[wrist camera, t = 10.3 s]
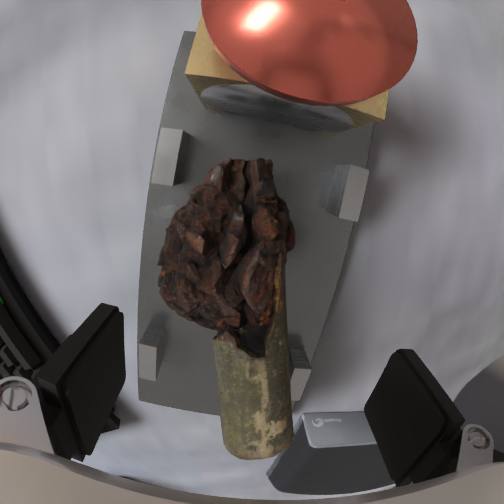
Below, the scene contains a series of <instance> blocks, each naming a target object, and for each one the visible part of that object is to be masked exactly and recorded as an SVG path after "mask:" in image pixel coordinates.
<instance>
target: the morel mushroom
mask: <svg viewBox="0 0 504 504" xmlns="http://www.w3.org/2000/svg"><path fill="white" fill-rule="evenodd" d="M272 172H273V162H272V160H271V159H267V160H265V159H263V158H258V159H256V160H251V161H245V160H244V159H231V157H229V158H227V159H224V160H223V161H222V162H221V163H220V164H218V165H214V167H213V168H212V169H211V170H210V171H208V172H207V174H206V176H205V179H204V181H203V182H202V184H200V185H198V186H196V187H194V188H193V189H192V190H191V191H190V192H189V195H190V199H189V200H188V203H187V205H185V206H183V207H181V208H180V209H179V210H177V211H176V212H175V214H174V215H173V218H172V220H171V222H170V224H169V227H168V228H166V237H165V243H164V246H163V247H162V248H161V251H160V254H159V261H158V263H157V265H158V266H162V268H161V273H160V275H159V278H158V287H160V290H159V293H160V295H161V297H162V298H163V300H164V302H165V303H166V304H167V305H168V307H169V308H170V309H172V310H175V311H176V313H177V314H178V315H179V316H181V317H183V318H185V319H187V320H188V321H193V322H195V323H197V324H198V325H200V326H202V327H205V328H208V329H212V330H217V331H218V332H217V335H216V336H214V338H213V339H212V342H213V350H214V359H215V367H216V381H217V388H218V396H219V404H220V418H221V426H222V434H223V441H224V445H225V447H226V449H227V450H228V451H229V452H230V453H231V454H232V455H234V456H236V457H237V458H239V459H245V460H256V459H264V458H269V457H273V456H276V455H279V454H281V453H282V452H284V451H285V450H286V449H287V448H288V447H289V446H290V444H291V442H292V440H293V438H294V431H293V420H292V402H291V385H290V371H289V347H288V326H287V308H286V277H285V264H286V262H287V252H289V251H292V249H293V248H294V246H295V230H294V225H293V223H292V222H291V220H290V218H289V209H288V208H287V204H286V202H285V201H284V200H282V199H281V198H280V197H279V196H278V194H277V191H276V188H275V184H274V182H273V177H274V176H273V174H272Z"/></svg>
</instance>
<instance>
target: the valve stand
mask: <svg viewBox="0 0 504 504" xmlns="http://www.w3.org/2000/svg"><path fill="white" fill-rule="evenodd" d="M201 6H202V16H201V19H200V22H199V25H198V28H197V32H189V31H184V33H183V37H182V40H181V43H180V47H179V50H178V53H177V57H176V60H175V64H174V68H173V72H172V75H171V79H170V83H169V87H168V91H167V95H166V100H165V104H164V108H163V113H162V117H161V122H160V127H159V132H158V137H157V142H156V148H155V153H154V159H153V165H152V171H151V177H150V184H149V191H148V198H147V206H146V214H145V222H144V231H143V241H142V252H141V265H140V279H139V298H138V334H137V357H138V393H139V400H140V401H145V402H149V403H153V404H158V405H162V406H167V407H172V408H177V409H182V410H188V411H193V412H199V413H206V414H212V415H220V404H219V396H218V388H217V381H216V367H215V359H214V350H213V342H212V339H213V338H214V336H216V335H217V332H218V331H217V330H212V329H208V328H205V327H202V326H200V325H198V324H197V323H195V322H193V321H188V320H187V319H185V318H183V317H181V316H179V315H178V314H177V313H176V311H175V310H172V309H170V308H169V307H168V305H167V304H166V303H165V302H164V300H163V298H162V297H161V295H160V293H159V290H160V287H158V278H159V275H160V273H161V268H162V266H158V265H157V263H158V261H159V254H160V251H161V248H162V247H163V246H164V243H165V237H166V228H168V227H169V224H170V222H171V220H172V218H173V215H174V214H175V212H176V211H177V210H179V209H180V208H181V207H183V206H185V205H187V203H188V200H189V199H190V195H189V192H190V191H191V190H192V189H193V188H194V187H196V186H198V185H200V184H202V182H203V181H204V179H205V176H206V174H207V172H208V171H210V170H211V169H212V168H213V167H214V165H218V164H220V163H221V162H222V161H223V160H224V159H227V158H229V157H231V159H244V160H245V161H251V160H256V159H258V158H263V159H265V160H267V159H271V160H272V162H273V172H272V174H273V176H274V177H273V182H274V184H275V188H276V191H277V194H278V196H279V197H280V198H281V199H282V200H284V201H285V202H286V204H287V208H288V209H289V218H290V220H291V222H292V223H293V225H294V230H295V246H294V248H293V249H292V251H289V252H287V262H286V264H285V277H286V308H287V326H288V347H289V371H290V385H291V402H292V410H293V408H294V405H295V403H296V401H300V398H301V396H302V393H303V391H304V388H305V386H306V383H307V381H308V378H309V376H310V373H311V371H312V369H311V366H310V364H311V361H312V358H313V356H314V353H315V350H316V347H317V344H318V342H319V339H320V336H321V333H322V330H323V327H324V324H325V321H326V318H327V315H328V312H329V308H330V305H331V302H332V299H333V296H334V292H335V289H336V286H337V282H338V279H339V276H340V272H341V269H342V265H343V262H344V258H345V254H346V251H347V247H348V243H349V239H350V235H351V232H352V228H353V224H354V221H355V222H358V220H359V215H360V211H361V207H362V203H363V198H364V194H365V189H366V185H367V180H368V175H369V170H367V169H366V165H367V160H368V155H369V150H370V144H371V139H372V133H373V127H374V123H376V122H379V121H383V120H385V115H386V108H387V101H388V93H389V89H390V88H391V87H393V86H395V85H396V84H397V83H398V82H399V81H400V80H401V79H402V78H403V77H404V76H405V75H406V73H407V72H408V71H409V69H410V67H411V65H412V63H413V61H414V58H415V55H416V51H417V42H418V40H417V28H416V23H415V19H414V16H413V14H412V11H411V9H410V6H409V4H408V2H407V0H201Z"/></svg>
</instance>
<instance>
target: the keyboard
mask: <svg viewBox="0 0 504 504" xmlns="http://www.w3.org/2000/svg"><path fill="white" fill-rule="evenodd" d="M59 347H60V345H59V343H58V342H57V341H56V339H55V338H54V337H53V335H52V334H51V332H50V331H49V330H48V328H47V327H46V325H45V324H44V322H43V321H42V320H41V318H40V317H39V315H38V314H37V312H36V311H35V309H34V307H33V306H32V304H31V303H30V301H29V300H28V298H27V296H26V295H25V293H24V291H23V290H22V288H21V286H20V285H19V283H18V281H17V280H16V278H15V276H14V274H13V272H12V271H11V269H10V267H9V265H8V263H7V261H6V259H5V257H4V255H3V254H2V252H1V250H0V380H1V379H3V378H6V377H10V376H19V377H22V378H25V379H27V380H29V381H31V380H32V379H33V378H34V376H35V375H36V374H37V373H38V372H39V370H40V369H41V368H42V367H43V366H44V364H45V363H46V362H47V361H48V360H49V358H50V357H51V356H52V355H53V354H54V352H55V351H56V350H57V349H58V348H59ZM114 410H115V408H114V407H113V408H112V410H111V412H110V414H109V416H108V419H107V421H106V423H105V425H104V427H103V430H102V432H101V433H104V432H108V431H112V430H115V429H119V424H120V419H119V418H118V417H117V416H116V415H115V414H114Z"/></svg>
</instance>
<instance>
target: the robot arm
mask: <svg viewBox="0 0 504 504" xmlns="http://www.w3.org/2000/svg"><path fill="white" fill-rule="evenodd" d="M125 378H126V370H125V351H124V315H123V313H122V312H119V308H118V307H116V306H112V305H108V304H105V303H101V304H100V305H99V306H98V307H97V308H96V309H95V310H94V311H93V312H92V313H91V314H90V316H89V317H88V318H87V319H86V320H85V321H84V322H83V323H82V324H81V326H80V327H79V328H78V329H77V330H76V331H75V332H74V333H73V334H72V335H70V336H69V337H68V338H67V339H66V340H65V341H64V342H63V343H62V344H61V346H60V347H59V348H58V349H57V350H56V351H55V352H54V354H53V355H52V356H51V357H50V358H49V360H48V361H47V362H46V363H45V364H44V366H43V367H42V368H41V369H40V370H39V372H38V373H37V374H36V375H35V376H34V378H33V379H32V380H31V381H29V380H27V379H25V378H22V377H19V376H10V377H6V378H3V379H1V380H0V504H504V453H501V452H499V451H497V450H494V449H493V439H492V437H491V435H490V433H489V432H488V431H487V430H486V429H484V428H483V427H481V426H479V425H475V424H470V425H467V426H466V427H465V428H464V429H463V430H461V429H460V427H461V425H462V424H463V423H464V422H465V419H464V417H463V416H462V415H461V413H460V412H459V410H458V409H457V407H456V406H455V405H454V403H453V402H452V400H451V399H450V398H449V396H448V395H447V394H446V392H445V391H444V389H443V388H442V387H441V385H440V384H439V383H438V381H437V380H436V379H435V377H434V376H433V375H432V373H431V372H430V371H429V369H428V368H427V367H426V366H425V364H424V363H423V362H422V360H421V359H420V358H419V357H418V355H417V354H416V353H415V351H414V350H412V349H398V350H397V351H396V352H395V353H393V354H392V355H391V357H390V359H389V361H388V363H387V365H386V367H385V369H384V371H383V373H382V375H381V377H380V379H379V381H378V383H377V385H376V386H375V388H374V390H373V392H372V394H371V396H370V397H369V399H368V401H367V403H366V404H365V407H364V413H365V416H366V418H367V421H368V423H369V426H370V428H371V430H372V433H373V435H374V438H375V440H376V443H377V445H378V448H379V450H380V453H381V455H382V458H383V460H384V463H385V465H386V468H387V470H388V473H389V475H390V478H391V479H392V480H394V482H395V484H396V487H399V488H394V489H389V490H384V491H379V492H373V493H367V494H360V495H353V496H345V497H336V498H325V499H309V500H254V499H238V498H226V497H217V496H209V495H202V494H195V493H189V492H183V491H178V490H172V489H168V488H163V487H158V486H154V485H150V484H146V483H142V482H138V481H134V480H130V479H126V478H123V477H119V476H116V475H113V474H110V473H106V472H103V471H100V470H97V469H94V468H92V467H89V466H86V465H83V464H80V463H77V462H74V461H71V458H74V459H76V460H79V461H81V462H83V460H84V458H85V455H91V454H92V452H93V450H94V448H95V445H96V443H97V441H98V438H99V436H100V434H101V432H102V430H103V427H104V425H105V423H106V421H107V419H108V416H109V414H110V412H111V410H112V408H113V406H114V404H115V402H116V399H117V397H118V395H119V393H120V391H121V389H122V387H123V385H124V382H125ZM412 481H413V483H414V484H412V485H408V484H410V483H411V482H412ZM405 485H408V486H405ZM400 486H403V487H400Z"/></svg>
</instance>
